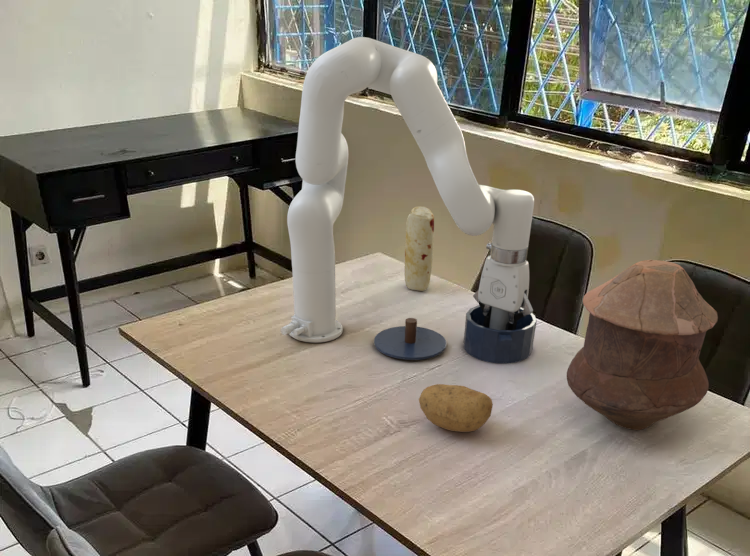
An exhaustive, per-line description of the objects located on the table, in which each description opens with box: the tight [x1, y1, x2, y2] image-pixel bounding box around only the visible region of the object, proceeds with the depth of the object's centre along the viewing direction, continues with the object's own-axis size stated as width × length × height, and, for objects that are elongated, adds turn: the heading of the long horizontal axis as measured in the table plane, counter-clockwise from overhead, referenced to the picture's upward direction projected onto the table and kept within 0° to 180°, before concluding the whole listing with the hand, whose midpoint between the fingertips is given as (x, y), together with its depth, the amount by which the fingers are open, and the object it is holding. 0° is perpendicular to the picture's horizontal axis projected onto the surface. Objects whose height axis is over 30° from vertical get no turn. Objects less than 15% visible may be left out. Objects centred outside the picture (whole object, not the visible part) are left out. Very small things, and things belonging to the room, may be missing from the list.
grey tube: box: [489, 307, 509, 330], centre depth 171 cm, size 4×4×10 cm
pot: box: [463, 304, 537, 365], centre depth 172 cm, size 15×21×8 cm
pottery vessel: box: [566, 259, 719, 431], centre depth 142 cm, size 26×26×30 cm
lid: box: [373, 317, 447, 361], centre depth 173 cm, size 16×16×6 cm
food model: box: [404, 205, 435, 292], centre depth 197 cm, size 10×7×20 cm
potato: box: [418, 383, 494, 433], centre depth 144 cm, size 10×14×8 cm
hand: (498, 333), depth 172 cm, fingers closed on grey tube, 4 cm apart
